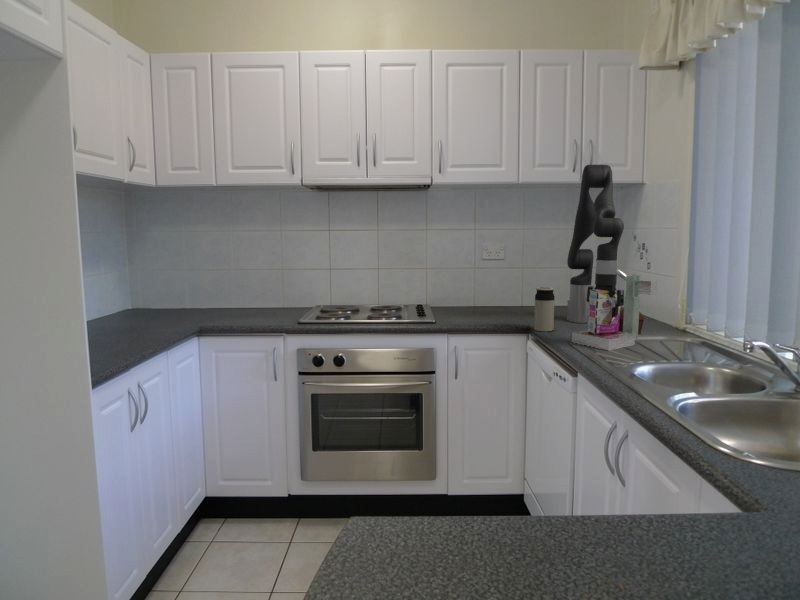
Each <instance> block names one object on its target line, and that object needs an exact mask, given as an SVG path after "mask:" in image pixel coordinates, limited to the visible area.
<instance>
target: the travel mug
mask: <svg viewBox="0 0 800 600" xmlns="http://www.w3.org/2000/svg"><path fill="white" fill-rule="evenodd" d="M535 290H536V293H535V295H534V318H533V319H534V321H533V324H534V327H533V329H534V331H537V332H541V333H542V332H543V333H544V332H546V333H548V332H547V331H550V332H553V331H554V328H555V327H554V326H555V323H554V322H555V321H554V319H555V297H556V296H555V294H554V290H555V288H554V287H548V286H547V287H545V286H538V287H536V288H535ZM552 330H553V331H552Z"/></svg>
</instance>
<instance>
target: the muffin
mask: <svg viewBox="0 0 800 600" xmlns="http://www.w3.org/2000/svg"><path fill="white" fill-rule="evenodd" d="M623 319H624V308H623V309H620V322H619V332H623ZM644 320H645V316H643V314H642V313H641V312H640V311H639V325H638V334H639V335H642V334H641V333H642V328H643V325H644Z"/></svg>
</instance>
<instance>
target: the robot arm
mask: <svg viewBox="0 0 800 600" xmlns="http://www.w3.org/2000/svg"><path fill="white" fill-rule="evenodd" d="M613 186H614V182H613V170H612V167H611V166H610V165H607V164H586V165H585V166H584V168H583V169H582V174H581V184H580V193H579V200H578V205H577V210H576V214H575V220H574V226H573V234H572V239H571V242H570V246H569V251H568V254H567V262H566V264H567V268H569V269H570V270H583V271H582V273H580V274H578V275H576V276H572V277H571V278H570V279H569V280H570V281H569V283H570V285H569V299H568V300H567V312H566V313H567V314H566V321H568V322H571V323H577V324H586V323H587V324H588V313H589V295H590V290H593V289H600V290H608V291H609V293H607V299H608V301H609V302H610V303H611V304H612V306H613V307H612V317H617V316H618V307H619V306H621V307H622V306H623V307H624V299H625V290H624V289H618V290H616V289H617V287H616V286H617V280H618V275H617V268H618V251H619V250H618V248H619V244H620V241H621V237H622V235H623V233H624V229H625V223H624V221H623V220H622V218H619V217H616V208H615V203H614V197H613V196H614V195H613V192H614V190H613V189H614V187H613ZM590 189H602V190H601V191H600V192H599V194H598V195H597V196H596V198H595V199H594V201H593V199H592V197H591V195H590ZM593 234H594V235H595V237H598V238H611V240H610V241H608V242H605V243H600V244H598V246H597V248H596V259H597V262H596V261H595V263H596V264H595V275H594V285H595V286H593V285H592V280H593V268H594V251H593V250H592V249H590V248H581V246H582V245H583V243H584V242H586V241H587V240H588V239H589V238H590V237H591V236H592V235H593ZM615 293H616V295H617V298H616V297H615ZM613 296H614V299H612V297H613Z"/></svg>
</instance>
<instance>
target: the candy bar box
mask: <svg viewBox="0 0 800 600" xmlns="http://www.w3.org/2000/svg"><path fill="white" fill-rule="evenodd" d="M616 290H619V289H618V288H616ZM607 293H609V291H608V290H600V289H593V290H590V295H589V313H588V323H587V329H586V330H587V332H588V333H591V334H595V335H596V334H608V333H619V322H620V311H621V309H622V308H621V307H622V306H619V307H618V316H617V317H612V307H613V306H612V304H611V303H610V302H609V301H608V299H607ZM615 297H616V298H617V295H616V293H615ZM612 299H614V296H613V297H612Z"/></svg>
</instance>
